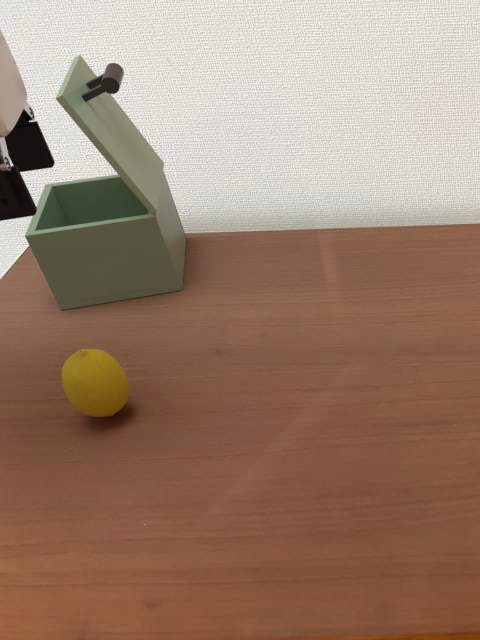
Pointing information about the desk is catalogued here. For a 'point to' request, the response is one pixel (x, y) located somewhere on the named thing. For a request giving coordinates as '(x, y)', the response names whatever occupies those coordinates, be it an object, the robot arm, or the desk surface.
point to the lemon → (95, 382)
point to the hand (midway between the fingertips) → (27, 191)
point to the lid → (112, 128)
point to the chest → (106, 242)
